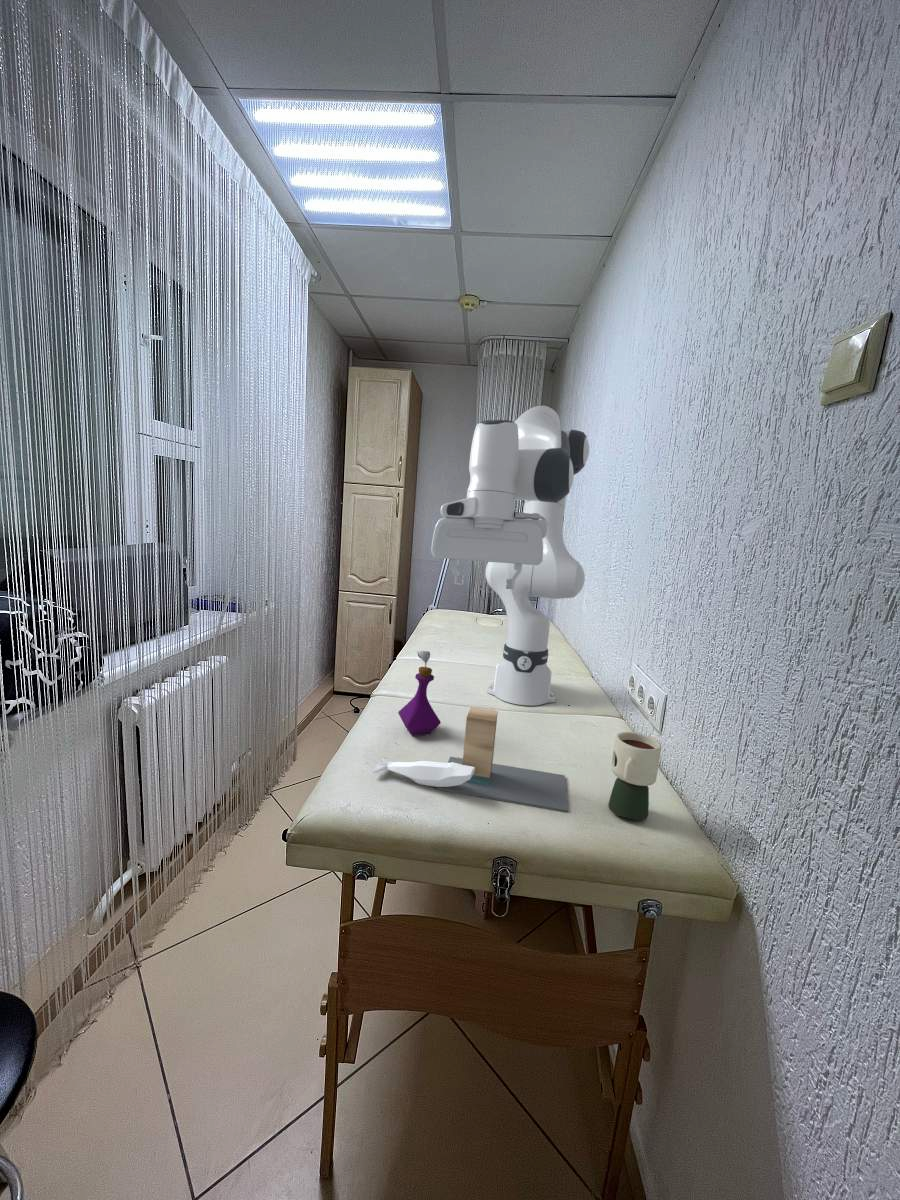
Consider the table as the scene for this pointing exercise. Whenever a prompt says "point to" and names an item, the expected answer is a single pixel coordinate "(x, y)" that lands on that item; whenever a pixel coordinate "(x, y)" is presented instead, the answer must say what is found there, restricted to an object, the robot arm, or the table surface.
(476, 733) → the oak block
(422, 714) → the perfume bottle
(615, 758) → the character mug
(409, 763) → the white fish figurine
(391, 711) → the table surface
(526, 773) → the rubber mat
